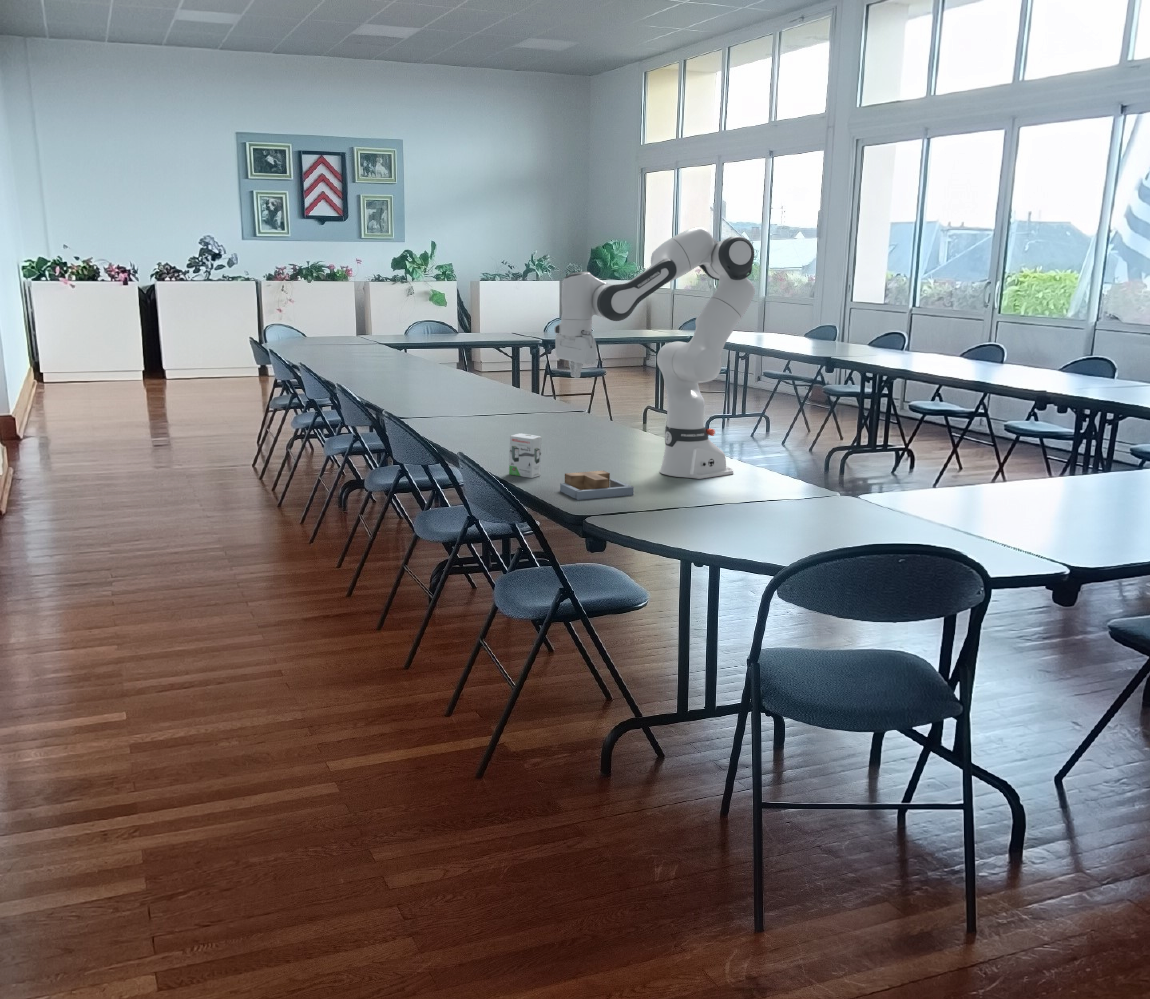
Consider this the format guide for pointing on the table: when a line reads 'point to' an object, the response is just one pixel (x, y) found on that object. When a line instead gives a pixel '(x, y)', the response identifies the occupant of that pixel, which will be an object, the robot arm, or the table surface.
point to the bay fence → (598, 491)
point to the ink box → (525, 455)
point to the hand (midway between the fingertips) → (575, 377)
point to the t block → (588, 480)
